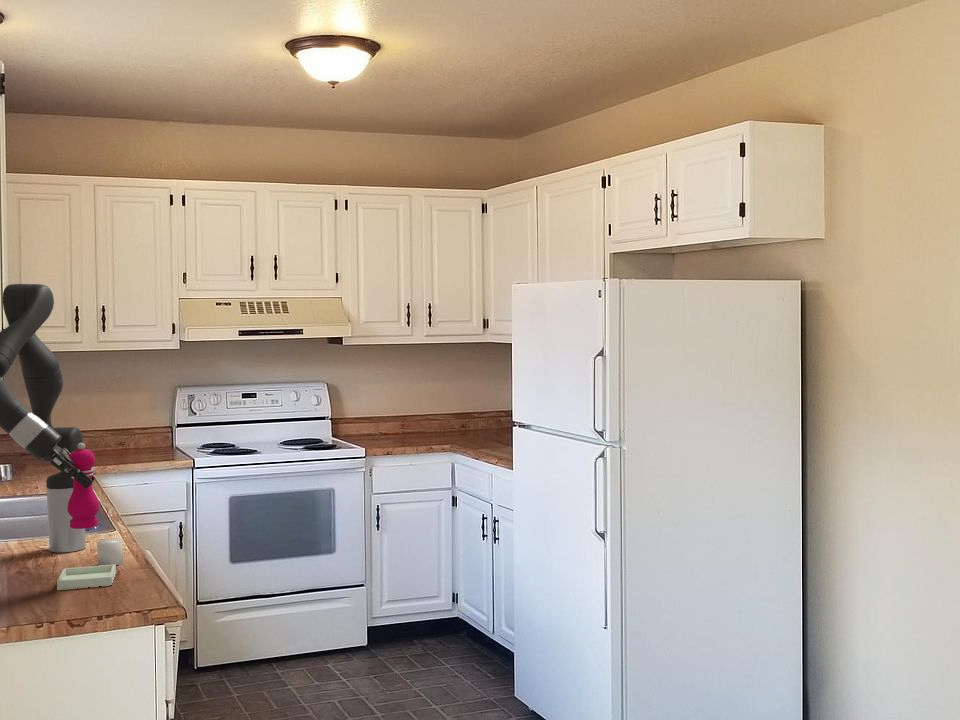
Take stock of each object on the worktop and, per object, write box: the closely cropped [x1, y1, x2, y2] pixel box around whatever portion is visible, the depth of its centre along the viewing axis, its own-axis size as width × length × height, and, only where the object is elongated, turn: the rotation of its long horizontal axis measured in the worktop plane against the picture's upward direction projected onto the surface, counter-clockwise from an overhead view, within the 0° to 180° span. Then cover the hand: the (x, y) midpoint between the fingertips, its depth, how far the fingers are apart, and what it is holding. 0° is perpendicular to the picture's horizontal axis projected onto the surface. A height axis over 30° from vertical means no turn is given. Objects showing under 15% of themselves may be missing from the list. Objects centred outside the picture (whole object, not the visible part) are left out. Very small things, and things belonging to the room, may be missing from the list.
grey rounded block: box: [96, 537, 124, 566], centre depth 274 cm, size 6×6×6 cm
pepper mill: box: [67, 442, 101, 530], centre depth 256 cm, size 7×7×20 cm
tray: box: [56, 564, 117, 591], centre depth 257 cm, size 13×12×2 cm
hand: (91, 483), depth 256 cm, fingers closed on pepper mill, 5 cm apart
